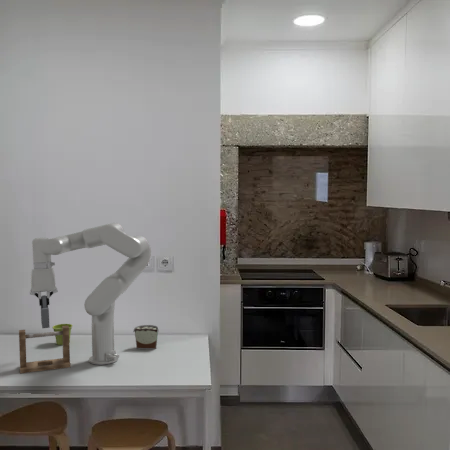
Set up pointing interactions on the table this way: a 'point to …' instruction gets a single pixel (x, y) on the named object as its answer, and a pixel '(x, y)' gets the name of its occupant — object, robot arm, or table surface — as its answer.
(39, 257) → the robot arm
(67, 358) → the rack
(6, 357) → the table surface
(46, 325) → the stepped gray bar
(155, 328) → the food container
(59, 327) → the plant pot
